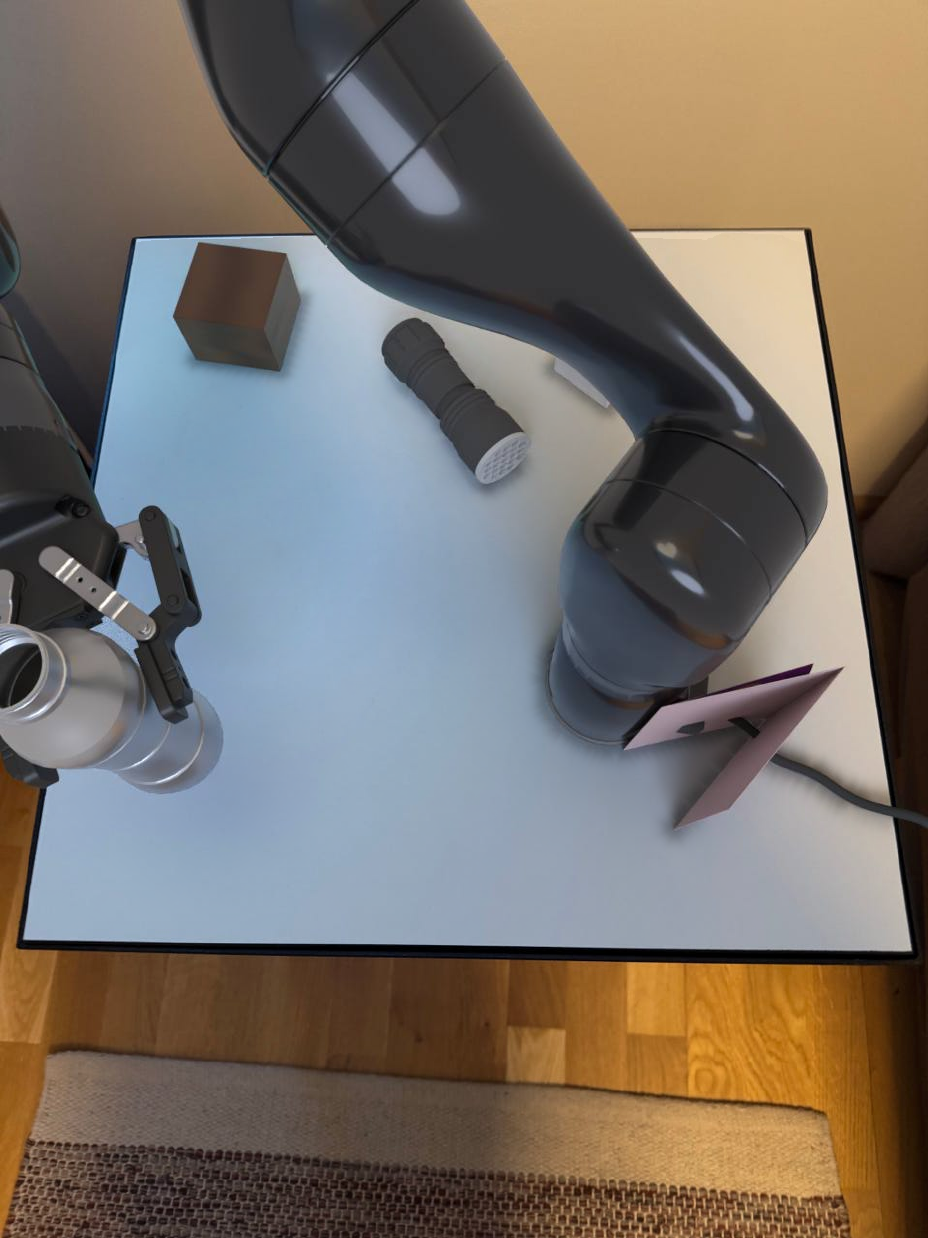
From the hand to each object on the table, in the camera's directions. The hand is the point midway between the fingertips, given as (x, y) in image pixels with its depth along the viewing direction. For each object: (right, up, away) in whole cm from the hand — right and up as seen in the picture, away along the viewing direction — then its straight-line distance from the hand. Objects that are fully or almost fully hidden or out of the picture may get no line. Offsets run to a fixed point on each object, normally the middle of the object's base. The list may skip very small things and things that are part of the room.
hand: (110, 749), depth 40 cm
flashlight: (+16, +24, +34) cm, 45 cm away
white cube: (+29, +29, +35) cm, 54 cm away
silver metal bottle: (-1, -2, +12) cm, 12 cm away
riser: (-3, +33, +38) cm, 50 cm away
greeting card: (+35, -5, +24) cm, 43 cm away
